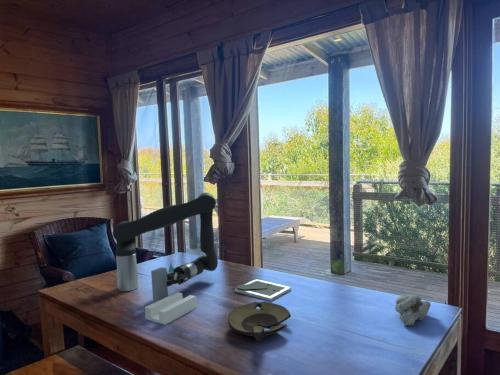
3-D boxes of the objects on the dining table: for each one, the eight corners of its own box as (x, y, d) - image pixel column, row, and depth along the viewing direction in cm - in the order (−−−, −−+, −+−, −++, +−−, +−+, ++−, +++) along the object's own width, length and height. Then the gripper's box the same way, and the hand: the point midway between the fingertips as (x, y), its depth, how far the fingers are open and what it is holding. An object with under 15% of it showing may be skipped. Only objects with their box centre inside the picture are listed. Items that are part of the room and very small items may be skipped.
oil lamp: (298, 318, 139) (297, 298, 138) (271, 359, 111) (270, 335, 111) (244, 311, 148) (244, 292, 147) (207, 347, 120) (206, 324, 120)
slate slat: (153, 304, 158) (151, 271, 157) (163, 300, 163) (161, 267, 162) (158, 306, 156) (156, 271, 155) (168, 301, 161) (166, 268, 160)
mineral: (440, 309, 136) (426, 283, 138) (430, 324, 122) (415, 295, 125) (409, 318, 143) (397, 293, 145) (396, 333, 129) (383, 306, 132)
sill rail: (145, 318, 144) (144, 307, 144) (177, 302, 159) (176, 292, 159) (165, 324, 138) (164, 312, 138) (196, 307, 153) (196, 296, 153)
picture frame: (235, 293, 169) (270, 303, 156) (234, 287, 169) (270, 296, 156) (256, 283, 181) (291, 291, 168) (256, 277, 181) (291, 285, 168)
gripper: (174, 262, 176) (148, 272, 163) (196, 266, 169) (171, 276, 155) (175, 277, 177) (149, 288, 163) (197, 282, 169) (172, 293, 156)
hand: (160, 282), depth 159 cm, fingers open, 8 cm apart
